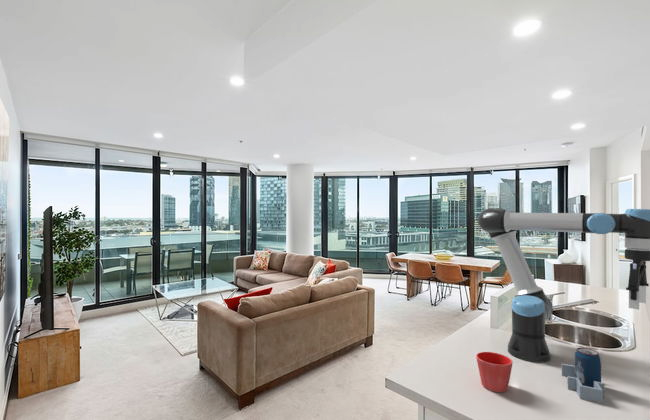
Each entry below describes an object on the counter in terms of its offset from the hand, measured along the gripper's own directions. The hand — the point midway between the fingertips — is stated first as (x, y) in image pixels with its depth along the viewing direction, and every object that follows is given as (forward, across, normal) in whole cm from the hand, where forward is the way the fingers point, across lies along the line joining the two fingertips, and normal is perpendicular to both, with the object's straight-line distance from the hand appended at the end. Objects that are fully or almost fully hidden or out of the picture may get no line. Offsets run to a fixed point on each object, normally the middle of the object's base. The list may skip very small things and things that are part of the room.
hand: (637, 305), depth 121 cm
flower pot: (+25, -55, +27) cm, 66 cm away
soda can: (+25, -29, +8) cm, 39 cm away
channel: (+25, -33, +8) cm, 42 cm away
